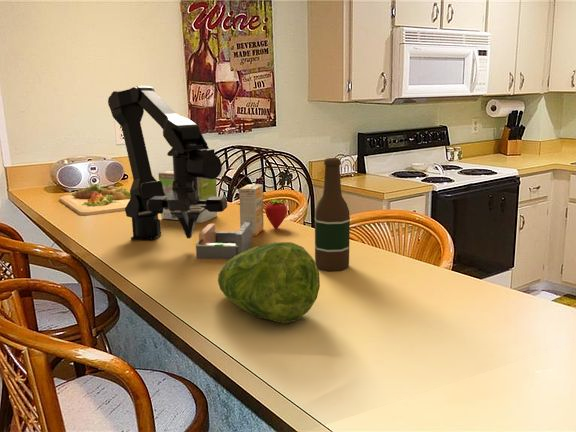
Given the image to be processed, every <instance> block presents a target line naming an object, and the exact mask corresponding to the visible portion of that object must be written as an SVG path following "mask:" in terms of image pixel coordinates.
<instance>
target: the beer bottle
mask: <svg viewBox="0 0 576 432" xmlns="http://www.w3.org/2000/svg"><path fill="white" fill-rule="evenodd" d="M323 164H324V181H323V191H322V195H321V197H320V199H319V200H318V202H317V204H316V207H315V211H314V261H315V263H316V266H317V268H318V270H320V271H325V272H342V271H344V270H346V269H348V268H349V265H350V236H351V235H350V229H351V228H350V227H351V225H350V224H351V223H350V222H351V221H350V219H351V218H350V217H351V215H350V210H349V207H348V206H349V205H348V204H347V202H346V200H345V199H344V197H343V195H342V185H341V184H342V183H341V165H342V161H341V159H339V158H338V157H336V158H335V157H331V158H330V157H328V158H325V159H324V162H323Z"/></svg>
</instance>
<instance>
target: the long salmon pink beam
mask: <svg viewBox="0 0 576 432" xmlns="http://www.w3.org/2000/svg"><path fill="white" fill-rule="evenodd" d="M215 231H216V223H209V224H207V225H206V226H205V227H204V228H203V229H202V230H201V231H199V233H198V242H197V243H198V244H201V243H216V234H215Z"/></svg>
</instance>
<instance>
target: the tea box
mask: <svg viewBox="0 0 576 432" xmlns="http://www.w3.org/2000/svg"><path fill="white" fill-rule="evenodd" d="M198 178H199V182H198V191H199V194H200V198H199V200H207V199H208V198H210V197H211V196H217V193H218V191H217V178H215V179H207V178H200V177H198ZM158 181H161V182H162V186H163V191H164V193H165V196H168V195H169V193H170V192H171V191H172V187H173V185H172V184H173V181H174V172H173V169H171V170H167V171H163V172H159V173H158ZM188 211H190V209H189V210H188ZM170 212H171V211H169V207H164V209H163V213H162V214H160V216H161V220H175V221H179V220H178V218H177V217H176V216H175V215H171V214H170ZM217 216H218V212H209V211H208V210H207V209H206V208H205V211H203V212H202V213H201V214H200V215H199V217H198V219H197V221H196V223H197V224H198V223H200V224H202V223H205V222H207V221H210V220H212V219H214V218H217Z"/></svg>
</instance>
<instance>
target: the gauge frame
mask: <svg viewBox="0 0 576 432" xmlns="http://www.w3.org/2000/svg"><path fill="white" fill-rule="evenodd" d="M215 234H216V243H201V244H198V242H197V243H196V244H195V253H196V254H195V255H196V259H214V260H215V259H216V260H217V259H218V260H219V259H220V260H221V259H222V260H230V259H232V258H233V257H235V256H236V255H238V254H240V253H242V252H244V251H247V250H249V249H251V248H252V245H253V244H254V243H253V242H254V239H253V237H254V236H253V232H252V221H246V222H245V223H244V224H243V225H242V227H241V228H238V230H237V231H220V230H219V231H217V230H215Z"/></svg>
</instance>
